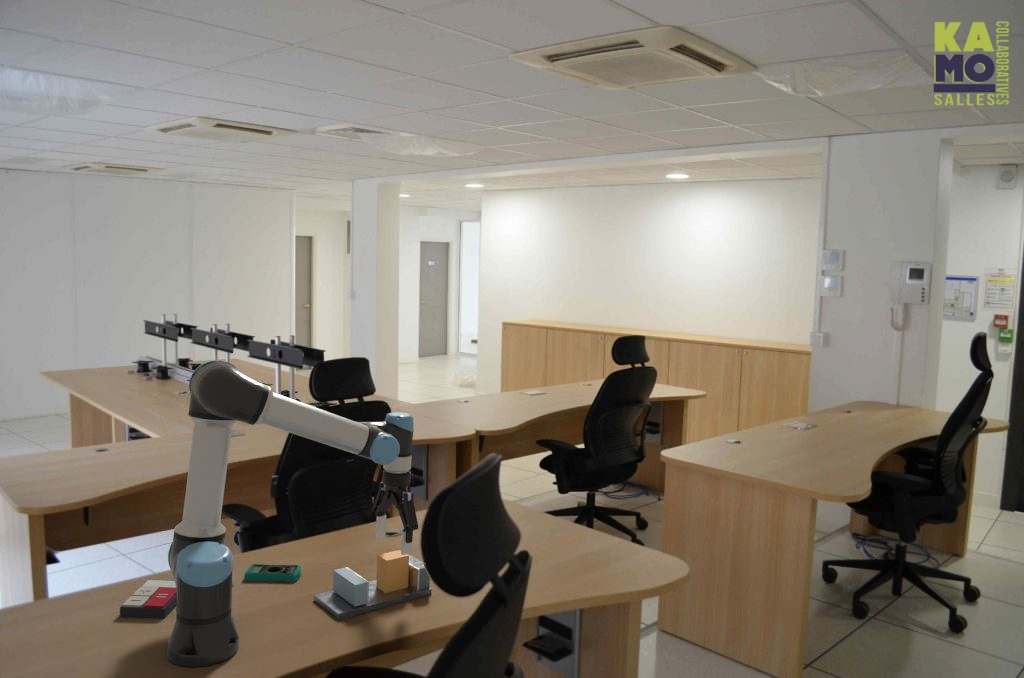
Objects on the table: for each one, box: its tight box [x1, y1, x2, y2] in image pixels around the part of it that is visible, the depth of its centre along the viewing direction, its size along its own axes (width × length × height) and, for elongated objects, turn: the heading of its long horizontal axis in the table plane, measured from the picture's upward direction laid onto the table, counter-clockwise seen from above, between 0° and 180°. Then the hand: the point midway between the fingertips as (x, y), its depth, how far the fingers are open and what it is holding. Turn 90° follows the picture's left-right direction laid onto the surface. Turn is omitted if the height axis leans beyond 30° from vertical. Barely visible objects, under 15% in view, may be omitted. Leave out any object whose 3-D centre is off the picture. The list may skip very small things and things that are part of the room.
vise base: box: [313, 554, 432, 621], centre depth 204 cm, size 28×14×8 cm, turn 130°
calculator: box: [119, 579, 177, 620], centre depth 194 cm, size 11×4×15 cm
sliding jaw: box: [332, 566, 370, 607], centre depth 200 cm, size 4×12×6 cm, turn 40°
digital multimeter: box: [243, 563, 302, 583], centre depth 215 cm, size 7×15×3 cm, turn 93°
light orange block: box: [376, 549, 410, 593], centre depth 208 cm, size 7×5×9 cm
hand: (392, 546), depth 207 cm, fingers open, 13 cm apart
